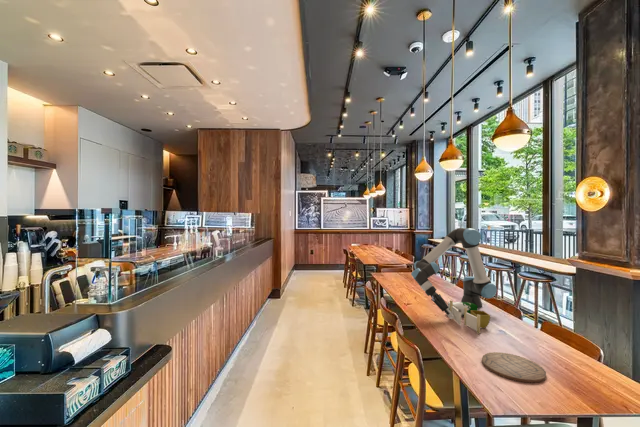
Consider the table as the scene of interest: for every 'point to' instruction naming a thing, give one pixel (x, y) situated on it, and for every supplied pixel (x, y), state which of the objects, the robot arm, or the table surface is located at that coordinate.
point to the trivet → (514, 367)
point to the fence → (470, 319)
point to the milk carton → (464, 305)
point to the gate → (456, 315)
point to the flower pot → (482, 318)
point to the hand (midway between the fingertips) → (452, 318)
